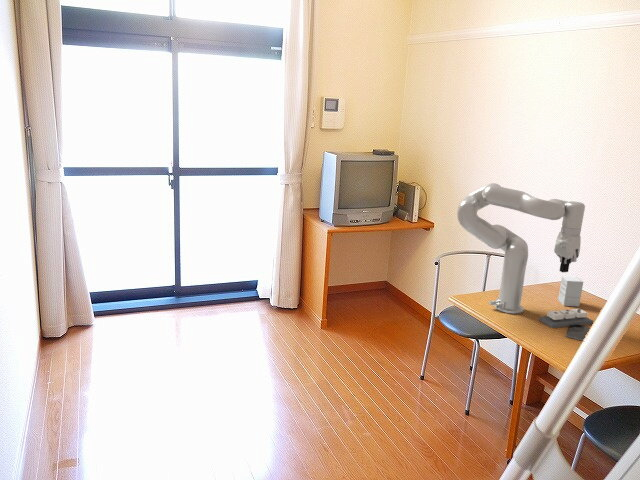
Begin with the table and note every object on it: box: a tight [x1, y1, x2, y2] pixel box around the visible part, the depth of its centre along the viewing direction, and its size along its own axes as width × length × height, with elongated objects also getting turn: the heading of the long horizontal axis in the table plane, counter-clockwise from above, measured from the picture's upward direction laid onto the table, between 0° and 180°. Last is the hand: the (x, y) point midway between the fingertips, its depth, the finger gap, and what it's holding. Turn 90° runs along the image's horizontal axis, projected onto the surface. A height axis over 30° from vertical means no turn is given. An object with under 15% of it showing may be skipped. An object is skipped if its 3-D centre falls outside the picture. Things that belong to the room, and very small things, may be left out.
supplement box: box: [557, 275, 584, 308], centre depth 236 cm, size 7×7×13 cm
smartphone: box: [565, 324, 590, 342], centre depth 207 cm, size 7×1×16 cm
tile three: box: [570, 308, 588, 318], centre depth 217 cm, size 5×5×2 cm
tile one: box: [546, 310, 564, 320], centre depth 214 cm, size 5×5×2 cm
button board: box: [538, 315, 594, 329], centre depth 216 cm, size 21×8×2 cm, turn 105°
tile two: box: [558, 309, 576, 319], centre depth 216 cm, size 5×5×2 cm
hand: (563, 271), depth 217 cm, fingers closed
